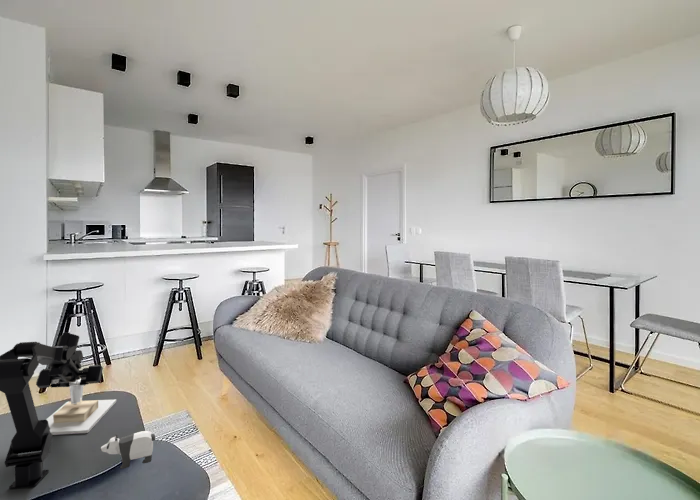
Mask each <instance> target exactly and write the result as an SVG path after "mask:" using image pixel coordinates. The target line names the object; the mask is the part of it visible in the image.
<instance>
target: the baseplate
mask: <svg viewBox="0 0 700 500" xmlns="http://www.w3.org/2000/svg"><path fill="white" fill-rule="evenodd" d="M97 400H98V408H97V409H96V410H95V411H94V412H93V413H92V414H91V415H90V416H89V417H88V418H87V419H86V420H85V421H83V422H64V423H54V419H53V415H54V414H55V413H56V412H58V411H59V410H60V409H61V408H62V407H64V406H65V405H66V404H67V403H68V402H69V401H66V402H65V403H64V404H63V405H62V406H60V407H59V408H58V409H57V410H56V411H54V412H53V413H52V414H50V416H48V417H47V418H46V419H45V420H47V421H48V424H49V428H50V432H51V433H52V436H53V435H54V436H56V435H74V434H89V432H90V431H91V430H92V429H93V428H94V427H95V426H96V425H97V424H98V422H99V421H100V420H101V419H102V418H104V416H105V415H106V414H107V413H108V412H109V411H110V410H111V409H112V407H114V405H115V404H116V403H117V399H97Z"/></svg>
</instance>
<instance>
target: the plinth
mask: <svg viewBox="0 0 700 500" xmlns="http://www.w3.org/2000/svg"><path fill="white" fill-rule="evenodd" d="M98 400H99V399H95V400H94V399H93V400H92V399H91V400H82V403H80V404H78V405H71V400H70V401H69V402H68V401H67V402H68V403H67V404H66V405H65V406H64V407H62V406H61V407H62V408H61V409H60V410H59V411H58V412H56V411H55V412H56V413H55V414H54V415H53V419H54V423H64V422H83V421H85V420H86V419H87V418H88V417H89V416H90V415H91V414H92V413H93V412H94V411H95V410H96V409H97V408H98Z"/></svg>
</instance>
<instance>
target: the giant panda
mask: <svg viewBox="0 0 700 500" xmlns="http://www.w3.org/2000/svg"><path fill="white" fill-rule="evenodd" d="M154 441H156V435H155V433H153V432H152V431H150V430H143V431H138V432H134V433H132V434H128V435H126V436H125V435H124V436H122V437H120V438H119V435H117V434H115V436H113V437H110V439H109V440H108V442H107V443H105V444H103V445H102V446H100V449H99V450H100V451H101V452H102V453H107V454H108V455H120V457H121V463H122V464H121V465H120V467H119V469H120V470H124V469H127V468H129V467H130V465H131V460H136V459H141V458H144V459H143V460H142V462H141V463H142V464H149V463H151V462H152V460H153V459H152V457H153V450H154Z"/></svg>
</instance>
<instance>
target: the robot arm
mask: <svg viewBox="0 0 700 500" xmlns="http://www.w3.org/2000/svg"><path fill="white" fill-rule="evenodd" d="M79 340H80V335H77V334H74V333H70V332H62V334H61V335H60V336H59V338H58V341H57V345H56V346H51V345H47V344H43V343H41V342H40V341H28V342H27V341H26V342H25V341H24V342H18V343H16V344H15V345H14V346H13V347H12V349H9V350H8V351H6V352H5V353H3V354H1V355H0V392H1V393H4V396H5V398H6V402H7V406H8V408H9V412H10V415H11V418H12V422H13V425H14V428H15V433H14V435H13V437H12V439H11V440H10V445H9V448H8V452H7V454H6V456H5V460H4V466H5V467H6V468H9V467H14V481H13V482H11V484H10V485H9V486H8V489H10V490H11V489H12V490H13V489H23V488H34V487H36V486H37V485H38V484H39V483H40V481H42V480H43V478H44V477H45V476H47V475H48V473H49V472H50V471H49V469H44V461H45V460H46V458H47V457H48V456H49V455H50V453H51V447H52V440H53V435H52V433H51V432H50V428H49V424H48V421H47V420H46V419H39V418H38V414H37V409H36V406H35V403H34V399H33V398H34V397H33V394H32V392H31V391H32V390H31V387H30V383H29V382H30V380H31V379H32V378H33V375H34V374H35V371H36V370H37V368H38V366H39V364H40V365H42V366H49V367H48V368H43V369H41V370H40V372H39V373H38V377H37V380H36V382H35V383H36V384H35V385H36V386H37V387H38V388H39V389H46V388H69V382H76V380H80V379H81V381H80V385H83V387H84V386H85V387H86V386H87V385H91V384H98V383H100V382H101V379H102V374H103V370H104V368H103V365H101V364H95V365H94V364H93V365H89V366H88V367H84V368H82V364H81V363H82V361H83V359H84V356H83V350H80V349H79V350H77V349H78V344H79Z"/></svg>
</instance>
